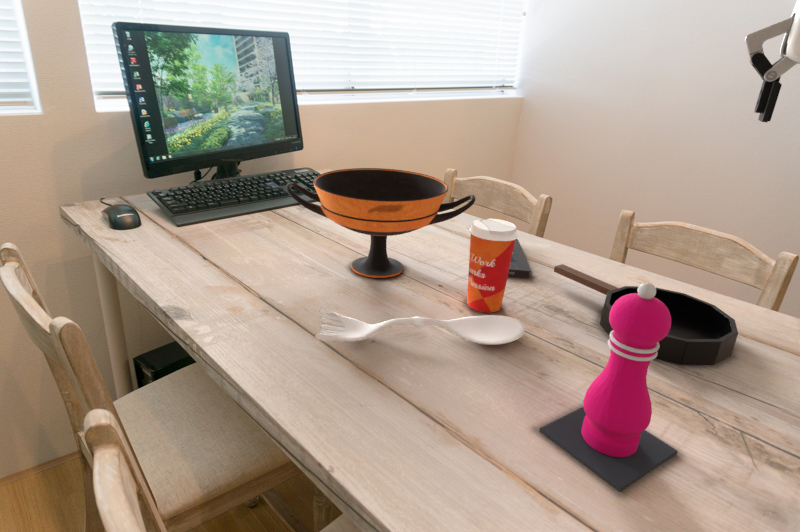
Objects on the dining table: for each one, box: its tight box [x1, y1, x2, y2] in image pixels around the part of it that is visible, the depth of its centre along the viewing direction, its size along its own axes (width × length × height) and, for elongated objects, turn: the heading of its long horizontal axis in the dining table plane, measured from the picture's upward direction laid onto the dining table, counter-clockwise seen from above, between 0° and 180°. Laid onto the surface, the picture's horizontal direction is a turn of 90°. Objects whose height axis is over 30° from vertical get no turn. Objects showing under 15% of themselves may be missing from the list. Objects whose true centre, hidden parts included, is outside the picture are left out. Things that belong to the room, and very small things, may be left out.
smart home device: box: [508, 238, 531, 279], centre depth 116 cm, size 8×2×20 cm
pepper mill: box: [581, 282, 671, 457], centre depth 58 cm, size 7×7×20 cm
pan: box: [553, 263, 739, 366], centre depth 92 cm, size 33×20×4 cm, turn 34°
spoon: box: [314, 307, 525, 346], centre depth 81 cm, size 9×32×4 cm, turn 96°
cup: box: [286, 167, 476, 279], centre depth 104 cm, size 36×26×18 cm
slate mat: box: [539, 406, 679, 492], centre depth 62 cm, size 11×11×1 cm
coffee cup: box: [466, 217, 519, 314], centre depth 91 cm, size 8×8×15 cm
